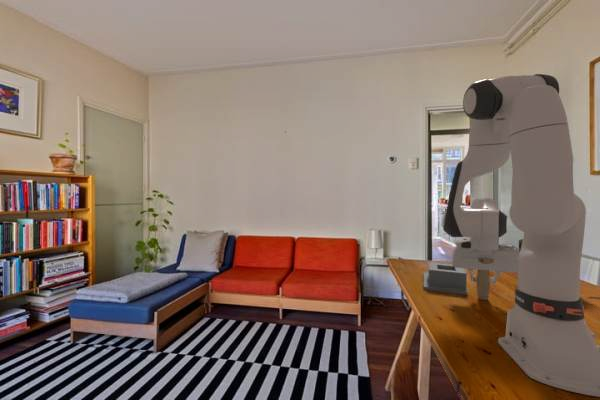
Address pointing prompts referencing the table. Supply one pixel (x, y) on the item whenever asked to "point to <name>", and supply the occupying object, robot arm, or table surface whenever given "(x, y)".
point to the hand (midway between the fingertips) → (483, 282)
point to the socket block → (445, 279)
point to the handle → (483, 280)
